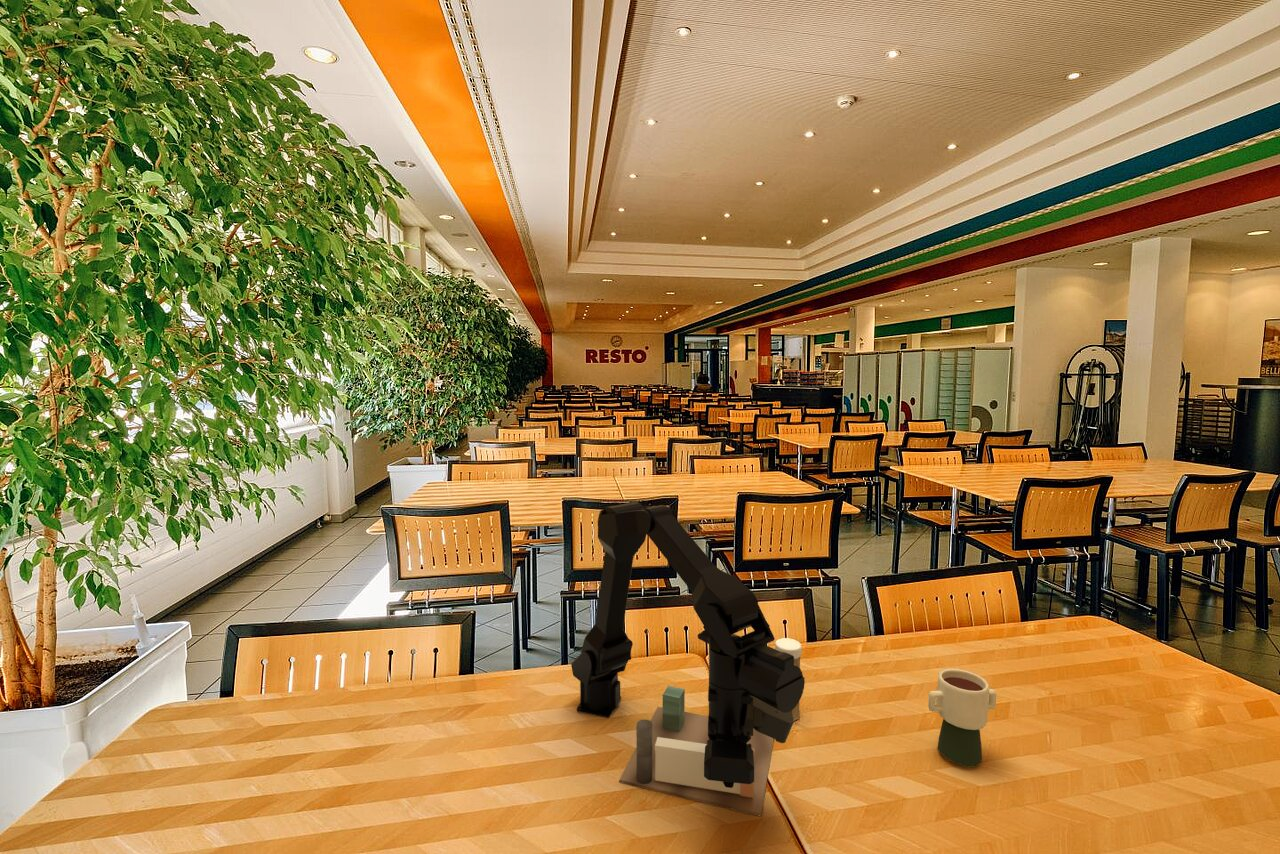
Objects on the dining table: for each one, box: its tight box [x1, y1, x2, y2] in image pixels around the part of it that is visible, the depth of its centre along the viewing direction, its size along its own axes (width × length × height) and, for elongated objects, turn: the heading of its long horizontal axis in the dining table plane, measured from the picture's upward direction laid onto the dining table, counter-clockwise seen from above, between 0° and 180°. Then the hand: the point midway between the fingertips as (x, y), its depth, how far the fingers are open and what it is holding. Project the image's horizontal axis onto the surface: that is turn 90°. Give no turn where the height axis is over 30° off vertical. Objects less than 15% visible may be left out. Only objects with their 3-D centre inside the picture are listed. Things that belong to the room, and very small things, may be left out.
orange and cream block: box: [655, 737, 754, 798], centre depth 84 cm, size 14×2×6 cm, turn 77°
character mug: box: [927, 668, 997, 768], centre depth 91 cm, size 11×7×13 cm, turn 94°
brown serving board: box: [618, 685, 775, 817], centre depth 92 cm, size 21×20×9 cm
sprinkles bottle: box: [774, 637, 803, 721], centre depth 103 cm, size 5×5×14 cm
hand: (728, 786), depth 81 cm, fingers closed
